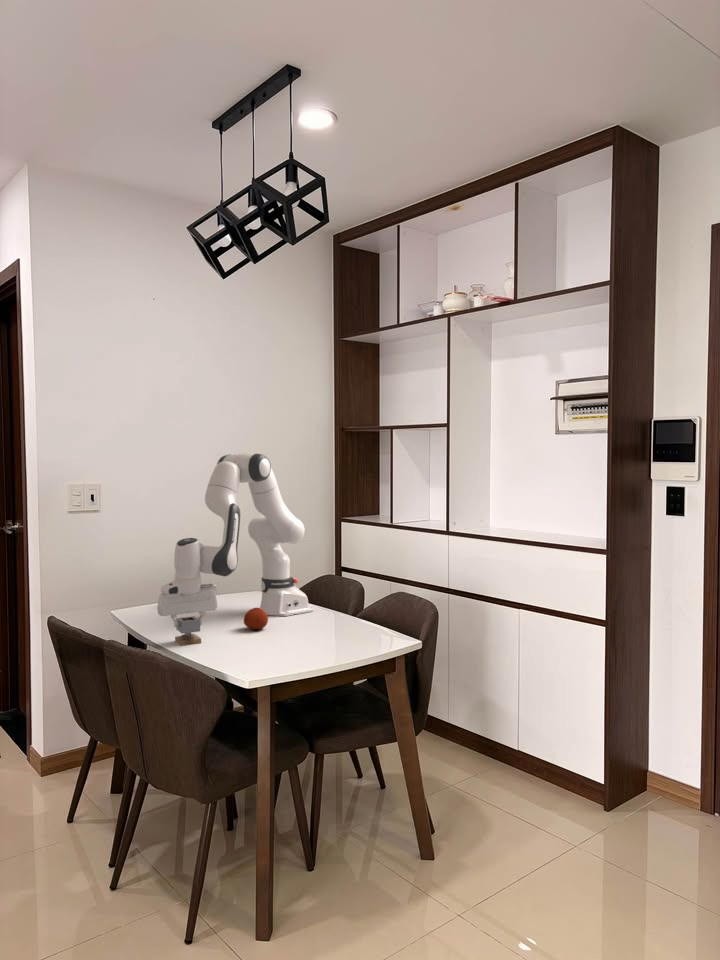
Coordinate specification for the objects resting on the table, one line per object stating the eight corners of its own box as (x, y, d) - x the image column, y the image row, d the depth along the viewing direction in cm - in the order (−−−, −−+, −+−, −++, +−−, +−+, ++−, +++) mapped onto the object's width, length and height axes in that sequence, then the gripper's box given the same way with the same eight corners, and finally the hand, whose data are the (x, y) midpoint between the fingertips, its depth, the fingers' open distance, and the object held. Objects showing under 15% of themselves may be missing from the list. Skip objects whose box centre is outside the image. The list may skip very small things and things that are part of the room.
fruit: (241, 627, 275) (241, 606, 274) (264, 625, 278) (264, 604, 277) (246, 633, 266) (246, 611, 266) (270, 631, 270) (270, 609, 269)
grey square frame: (194, 627, 258) (194, 616, 258) (200, 631, 253) (200, 619, 253) (176, 629, 255) (176, 618, 255) (181, 633, 250) (181, 622, 250)
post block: (194, 638, 259) (194, 617, 259) (201, 643, 253) (201, 621, 253) (175, 640, 255) (174, 619, 255) (181, 645, 249) (180, 623, 249)
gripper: (213, 581, 261) (214, 620, 262) (155, 587, 251) (156, 627, 252) (219, 584, 256) (220, 624, 257) (160, 590, 246) (161, 631, 246)
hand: (188, 625), depth 254 cm, fingers closed on grey square frame, 6 cm apart
